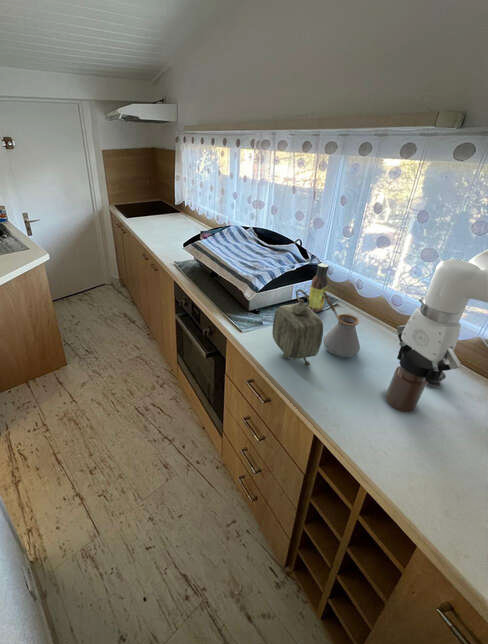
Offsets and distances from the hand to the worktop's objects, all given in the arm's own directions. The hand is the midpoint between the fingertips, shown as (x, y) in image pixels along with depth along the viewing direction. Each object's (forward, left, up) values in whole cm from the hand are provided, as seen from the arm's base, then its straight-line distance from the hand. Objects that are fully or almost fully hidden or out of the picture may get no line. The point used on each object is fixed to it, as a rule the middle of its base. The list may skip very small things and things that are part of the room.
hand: (416, 368), depth 80 cm
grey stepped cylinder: (-11, -11, -13) cm, 20 cm away
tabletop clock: (+30, -12, -13) cm, 34 cm away
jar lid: (0, 0, +3) cm, 3 cm away
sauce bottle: (+19, -46, -13) cm, 51 cm away
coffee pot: (+15, -24, -13) cm, 31 cm away
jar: (0, 0, -12) cm, 12 cm away
